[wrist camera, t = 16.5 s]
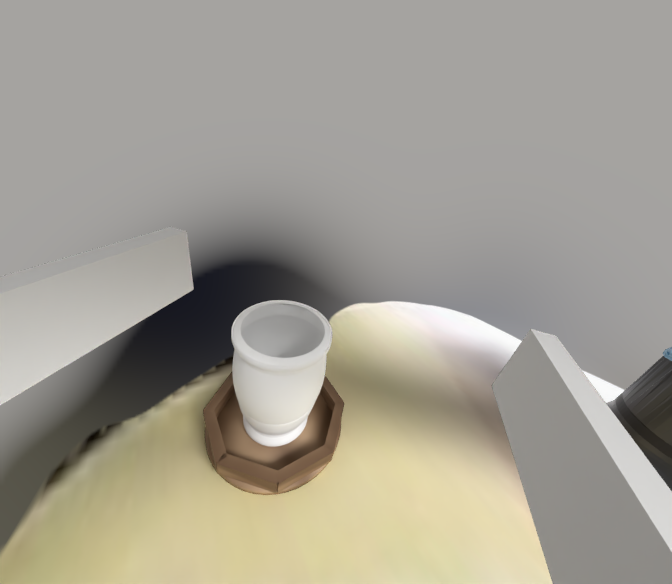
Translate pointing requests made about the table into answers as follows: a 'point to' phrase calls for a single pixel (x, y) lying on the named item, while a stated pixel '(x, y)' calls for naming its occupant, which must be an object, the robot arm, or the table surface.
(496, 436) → the table surface
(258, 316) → the jar
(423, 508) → the table surface
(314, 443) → the tray
